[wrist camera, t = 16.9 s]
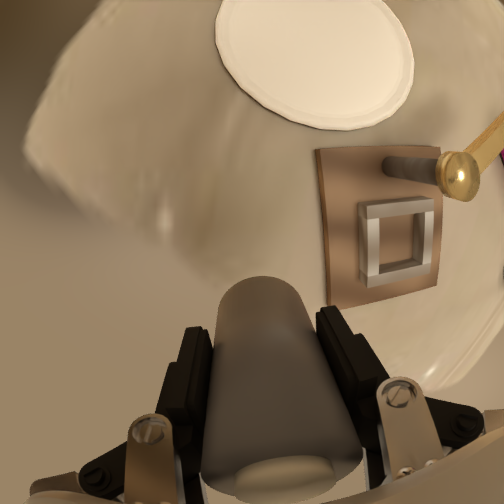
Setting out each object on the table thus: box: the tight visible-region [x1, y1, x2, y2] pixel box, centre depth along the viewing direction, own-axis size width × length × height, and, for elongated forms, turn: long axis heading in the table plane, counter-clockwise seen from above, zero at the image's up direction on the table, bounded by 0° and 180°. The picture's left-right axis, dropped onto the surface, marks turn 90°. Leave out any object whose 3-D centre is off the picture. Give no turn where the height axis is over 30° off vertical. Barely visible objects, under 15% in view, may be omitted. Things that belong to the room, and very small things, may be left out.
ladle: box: [435, 111, 504, 202], centre depth 12 cm, size 16×3×2 cm, turn 128°
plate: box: [215, 0, 415, 131], centre depth 19 cm, size 21×21×1 cm
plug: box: [200, 276, 364, 504], centre depth 8 cm, size 4×4×8 cm
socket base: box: [315, 146, 443, 310], centre depth 21 cm, size 16×14×10 cm
